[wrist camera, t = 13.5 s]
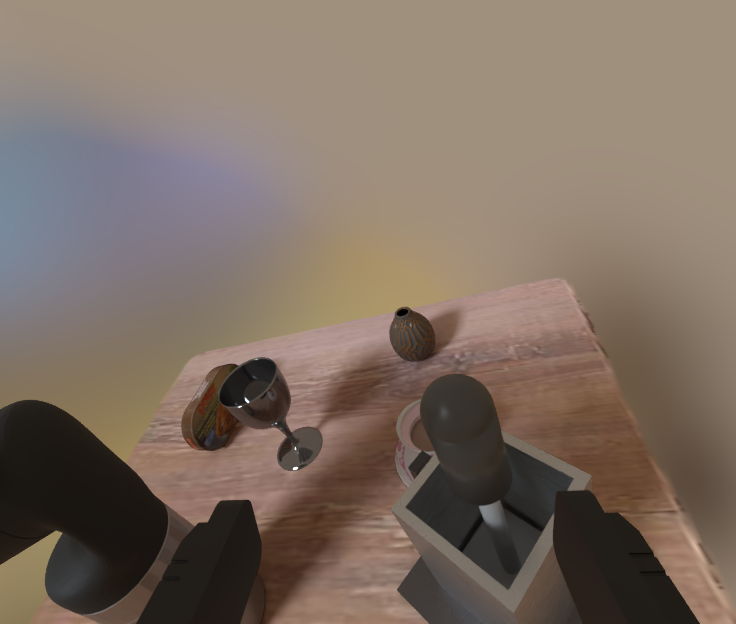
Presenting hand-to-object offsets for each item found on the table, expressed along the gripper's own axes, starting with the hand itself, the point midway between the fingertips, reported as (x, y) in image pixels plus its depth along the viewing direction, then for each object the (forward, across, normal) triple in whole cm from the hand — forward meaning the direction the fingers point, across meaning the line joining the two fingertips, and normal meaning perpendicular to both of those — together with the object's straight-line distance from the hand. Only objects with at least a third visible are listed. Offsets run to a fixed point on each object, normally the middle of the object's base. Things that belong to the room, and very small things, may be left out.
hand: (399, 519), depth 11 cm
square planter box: (+19, -9, +29) cm, 36 cm away
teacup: (+34, -4, +26) cm, 43 cm away
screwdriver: (+18, -8, +26) cm, 33 cm away
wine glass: (+40, +16, +29) cm, 52 cm away
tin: (+48, +30, +30) cm, 64 cm away
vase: (+52, -2, +21) cm, 56 cm away
